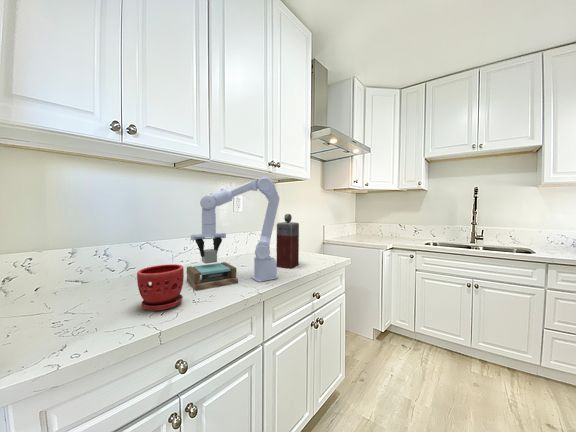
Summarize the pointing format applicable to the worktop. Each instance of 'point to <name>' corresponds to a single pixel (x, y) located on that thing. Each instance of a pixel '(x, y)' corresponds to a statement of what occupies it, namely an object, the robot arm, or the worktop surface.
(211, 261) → the granite block
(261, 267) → the robot arm
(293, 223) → the red lidded canister
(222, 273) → the hatch flap
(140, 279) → the plant pot
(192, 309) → the worktop surface
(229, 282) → the hatch stand
